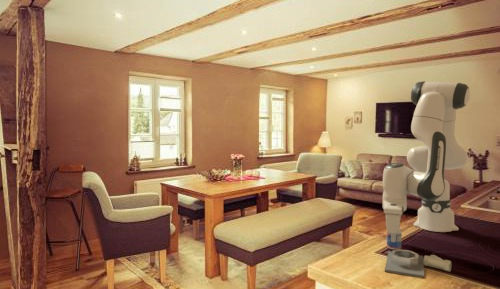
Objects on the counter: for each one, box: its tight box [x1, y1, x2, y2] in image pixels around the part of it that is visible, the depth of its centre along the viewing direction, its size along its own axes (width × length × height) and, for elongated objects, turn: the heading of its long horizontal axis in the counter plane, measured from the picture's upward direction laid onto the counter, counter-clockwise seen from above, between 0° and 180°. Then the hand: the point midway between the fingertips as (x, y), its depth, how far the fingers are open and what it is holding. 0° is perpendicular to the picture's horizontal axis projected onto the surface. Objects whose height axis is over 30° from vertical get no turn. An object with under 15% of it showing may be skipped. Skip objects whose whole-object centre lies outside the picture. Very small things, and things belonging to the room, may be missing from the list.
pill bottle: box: [386, 224, 403, 250], centre depth 138 cm, size 6×5×10 cm
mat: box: [384, 251, 425, 279], centre depth 123 cm, size 18×12×1 cm, turn 154°
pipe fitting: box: [423, 254, 452, 273], centre depth 121 cm, size 8×4×7 cm
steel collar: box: [391, 248, 419, 268], centre depth 123 cm, size 9×9×3 cm
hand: (394, 238), depth 138 cm, fingers open, 5 cm apart
